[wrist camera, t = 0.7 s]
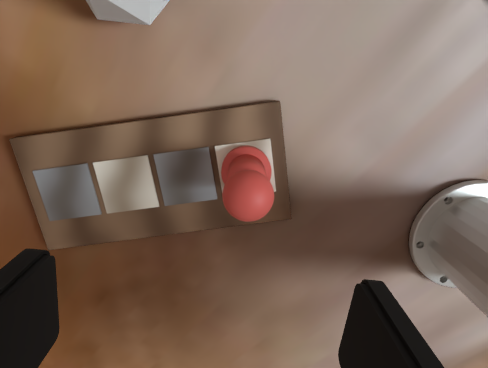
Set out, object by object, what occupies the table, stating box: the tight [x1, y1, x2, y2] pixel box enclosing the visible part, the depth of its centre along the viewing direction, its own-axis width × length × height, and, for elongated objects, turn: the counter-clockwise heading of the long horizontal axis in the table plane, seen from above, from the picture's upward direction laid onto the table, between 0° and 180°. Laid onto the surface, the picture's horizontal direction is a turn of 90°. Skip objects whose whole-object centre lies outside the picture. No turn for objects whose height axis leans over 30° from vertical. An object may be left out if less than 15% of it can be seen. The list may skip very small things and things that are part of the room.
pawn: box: [221, 145, 274, 222], centre depth 29 cm, size 5×5×10 cm
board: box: [9, 101, 292, 250], centre depth 34 cm, size 26×12×1 cm, turn 98°
